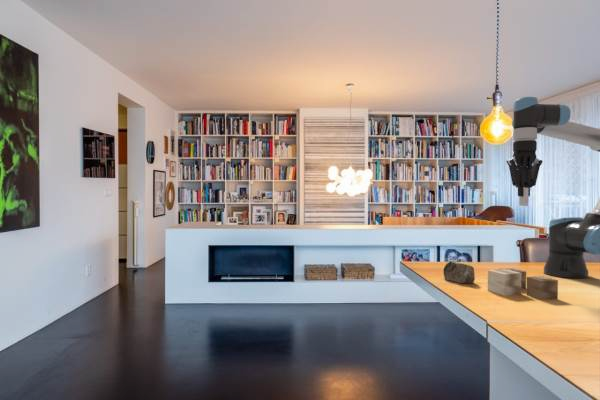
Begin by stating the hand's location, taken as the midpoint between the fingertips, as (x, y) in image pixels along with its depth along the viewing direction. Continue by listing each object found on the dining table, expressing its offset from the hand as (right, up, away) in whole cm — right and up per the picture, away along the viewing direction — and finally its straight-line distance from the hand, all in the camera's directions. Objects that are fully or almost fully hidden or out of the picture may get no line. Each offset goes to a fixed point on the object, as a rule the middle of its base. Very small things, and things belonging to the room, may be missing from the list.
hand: (523, 205), depth 146 cm
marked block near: (-7, -29, -6) cm, 30 cm away
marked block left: (-5, -29, -19) cm, 35 cm away
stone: (-23, -29, +3) cm, 37 cm away
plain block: (-14, -29, -14) cm, 35 cm away
